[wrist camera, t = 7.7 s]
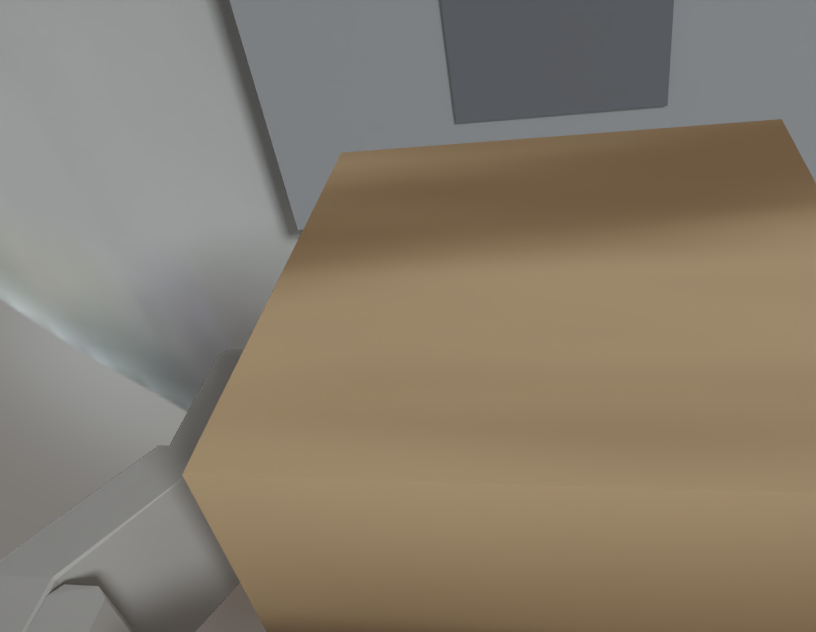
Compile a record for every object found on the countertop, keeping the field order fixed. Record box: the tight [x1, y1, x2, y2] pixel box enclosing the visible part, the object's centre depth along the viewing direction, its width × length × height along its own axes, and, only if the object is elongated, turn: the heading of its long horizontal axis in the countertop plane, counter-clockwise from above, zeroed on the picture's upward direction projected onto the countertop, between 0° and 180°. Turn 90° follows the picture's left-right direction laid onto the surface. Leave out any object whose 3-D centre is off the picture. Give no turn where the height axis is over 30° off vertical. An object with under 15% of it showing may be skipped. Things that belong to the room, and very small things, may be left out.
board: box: [229, 0, 816, 230], centre depth 20 cm, size 13×18×1 cm
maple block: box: [182, 119, 816, 632], centre depth 8 cm, size 5×5×5 cm
